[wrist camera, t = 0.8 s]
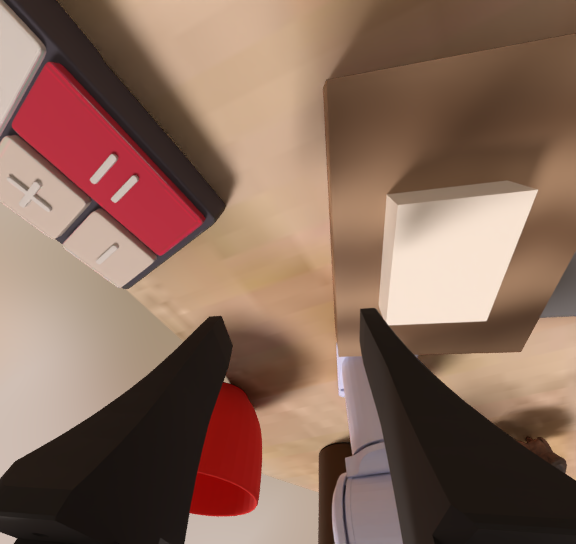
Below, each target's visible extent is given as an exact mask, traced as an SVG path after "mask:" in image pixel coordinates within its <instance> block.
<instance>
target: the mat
mask: <svg viewBox="0 0 576 544" xmlns="http://www.w3.org/2000/svg"><path fill="white" fill-rule="evenodd" d="M567 316H576V251H575V253H574V255H573V257H572V259H571V260H570V262H569V264H568V266H567V268H566V270H565V272H564V273H563V275H562V277H561V279H560V281H559V283H558V284H557V286H556V288H555V290H554V292H553V294H552V295H551V297H550V299H549V301H548V303H547V305H546V307H545V308H544V310H543V312H542V314H541V316H540V318H545V317H567Z"/></svg>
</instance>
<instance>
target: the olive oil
mask: <svg viewBox="0 0 576 544" xmlns="http://www.w3.org/2000/svg"><path fill="white" fill-rule="evenodd" d="M350 456H352V449H351V443H340V444H334V445H330V446H328V447H325V448H324V449H323V450H322V451H321V452H320V453H319V535H318V538H319V539H318V540H319V541H318V542H319V543H318V544H335V541H334V534H333V524H332V500H333V494H334V490H335V487H336V484H337V481H338V479H339V477H340V475H341V474H343V473H346V463H345V458H346V457H350Z"/></svg>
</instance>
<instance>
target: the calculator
mask: <svg viewBox="0 0 576 544" xmlns="http://www.w3.org/2000/svg"><path fill="white" fill-rule="evenodd" d="M0 202H1V203H3V204H4V205H5V206H7V207H8V208H9V209H11V210H12V211H13V212H15V213H16V214H18V215H19V216H20V217H22V218H23V219H25V220H26V221H27V222H29V223H30V224H31V225H33V226H34V227H35V228H37V229H38V230H39V231H41V232H42V233H43V234H45V235H46V236H48V237H49V238H51V239H56V240H57V241H59V242H60V243H61V244H63V245H62V246H63V248H64V249H66V250H67V251H68V252H70V253H71V254H72V255H74V256H75V257H77V258H78V259H79V260H80V261H82V262H83V263H85V264H86V265H87V266H89V267H90V268H91V269H93V270H94V271H95V272H97V273H98V274H100V275H101V276H102V277H104V278H105V279H106V280H108V281H109V282H111V283H112V284H113V285H115V286H116V287H118V288H120V287H121V288H123V289H129V288H130V287H132V286H133V285H134V284H136V283H137V282H138V281H140V280H141V279H142V278H144V277H145V276H146V275H148V274H149V273H150V272H151V271H153V270H154V269H155V268H157V267H158V266H159V265H161V264H162V263H163V262H165V261H166V260H167V259H169V258H170V257H171V256H172V255H174V254H175V253H176V252H178V251H179V250H180V249H182V248H183V247H184V246H186V245H187V244H188V243H190V242H191V241H192V240H194V239H195V238H196V237H197V236H199V235H200V234H201V233H203V232H204V231H205V230H207V229H208V228H209V227H211V226H212V225H213V224H214V223H215V222H216V221H217V219H218V218H219V217H220V215H221V214H222V213H223V211H224V210H225V204H224V203H223V201H222V200H221V199H220V197H219V196H218V195H217V194H216V193H215V191H214V190H213V189H212V188H211V187H210V185H209V184H208V183H207V182H206V181H205V179H204V178H203V177H202V176H201V175H200V173H199V172H198V171H197V170H196V169H195V167H194V166H193V165H192V164H191V163H190V161H189V160H188V159H187V158H186V157H185V155H184V154H183V153H182V152H181V151H180V150H179V148H178V147H177V146H176V145H175V144H174V143H173V141H172V140H171V139H170V138H169V137H168V136H167V135H166V133H165V132H164V131H163V130H162V129H161V128H160V126H159V125H158V124H157V123H156V122H155V121H154V119H153V118H152V117H151V116H150V115H149V114H148V112H147V111H146V110H145V109H144V108H143V107H142V106H141V104H140V103H139V102H138V101H137V100H136V99H135V97H134V96H133V95H132V94H131V93H130V92H129V90H128V89H127V88H126V87H125V86H124V85H123V83H122V82H121V81H120V80H119V79H118V78H117V77H116V75H115V74H114V73H113V72H112V71H111V70H110V68H109V67H108V66H107V65H106V64H105V62H104V61H103V59H102V57H101V55H100V53H99V52H98V51H97V49H96V48H95V47H94V46H93V44H92V43H91V42H90V41H89V40H88V38H87V37H86V36H85V35H84V34H83V32H82V31H81V30H80V29H79V27H78V26H77V25H76V24H75V23H74V21H73V20H72V19H71V18H70V17H69V15H68V14H67V13H66V12H65V11H64V9H63V8H62V7H61V6H60V5H59V3H58V2H57V1H56V0H0Z"/></svg>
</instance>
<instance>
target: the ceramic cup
mask: <svg viewBox="0 0 576 544" xmlns="http://www.w3.org/2000/svg"><path fill="white" fill-rule="evenodd" d="M261 468H262V437H261V429H260V424H259V421H258V418H257V415H256V412H255V410H254V408H253V406H252V404H251V403H250V401H249V400H248V397H247V395H246V393H245V392H244V391H243V390H241V389H240V388H239V387H237V386H235V385H232V384H229V383H225V382H223V384H222V387H221V390H220V392H219V395H218V398H217V401H216V404H215V407H214V410H213V412H212V415H211V419H210V422H209V425H208V429H207V433H206V437H205V441H204V445H203V449H202V454H201V458H200V463H199V467H198V472H197V476H196V481H195V486H194V492H193V497H192V502H191V507H190V513H192V514H198V515H206V516H237V515H242V514H246V513H249V512H251V511H252V510H254V509H255V507H256V506H257V504H258V500H259V492H260V482H261Z"/></svg>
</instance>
